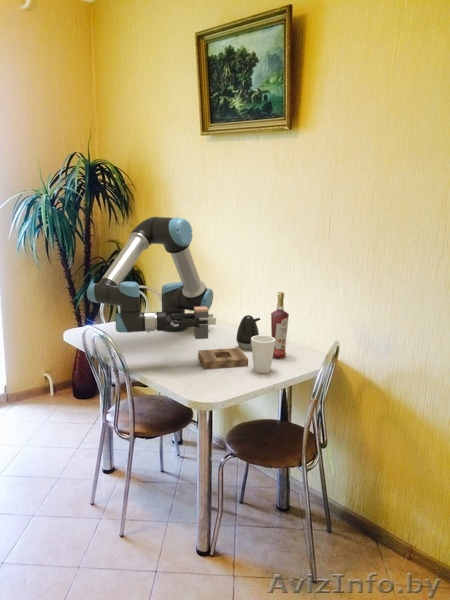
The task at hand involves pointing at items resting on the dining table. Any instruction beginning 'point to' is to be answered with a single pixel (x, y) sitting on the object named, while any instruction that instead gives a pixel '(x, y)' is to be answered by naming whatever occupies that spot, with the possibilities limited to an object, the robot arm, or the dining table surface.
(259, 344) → the foam cup
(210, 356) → the socket plate
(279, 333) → the liquor
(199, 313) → the grey tall block
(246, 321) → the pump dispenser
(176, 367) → the dining table surface
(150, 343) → the dining table surface
